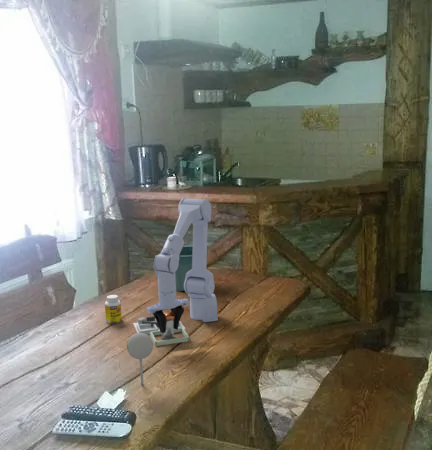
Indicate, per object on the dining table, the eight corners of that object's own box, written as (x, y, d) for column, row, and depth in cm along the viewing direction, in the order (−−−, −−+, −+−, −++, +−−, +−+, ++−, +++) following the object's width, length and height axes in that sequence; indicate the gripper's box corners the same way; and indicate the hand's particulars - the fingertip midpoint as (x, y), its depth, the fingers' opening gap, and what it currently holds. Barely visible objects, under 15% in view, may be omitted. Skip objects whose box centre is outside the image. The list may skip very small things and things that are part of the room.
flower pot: (206, 293, 246) (205, 255, 243) (166, 294, 247) (164, 256, 243) (207, 281, 262) (206, 245, 259) (169, 282, 263) (168, 246, 259)
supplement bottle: (110, 327, 212) (108, 300, 210) (103, 323, 216) (101, 296, 214) (124, 324, 215) (122, 296, 213) (118, 319, 219) (116, 292, 217)
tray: (182, 334, 204) (182, 327, 204) (189, 344, 195) (189, 337, 195) (150, 338, 201) (149, 331, 200) (155, 349, 192) (155, 342, 192)
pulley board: (177, 320, 217) (177, 309, 216) (185, 332, 206) (185, 321, 205) (133, 326, 212) (132, 315, 212) (139, 338, 201) (138, 327, 200)
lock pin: (169, 333, 202) (170, 310, 199) (177, 338, 198) (178, 315, 196) (157, 336, 199) (158, 313, 197) (165, 341, 195) (166, 318, 193)
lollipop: (130, 379, 172) (127, 329, 169) (155, 377, 173) (152, 328, 170) (128, 391, 165) (125, 339, 162) (154, 389, 166) (152, 337, 163)
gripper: (180, 283, 202) (181, 321, 205) (141, 291, 194) (143, 331, 197) (191, 288, 196) (192, 327, 199) (151, 297, 188) (153, 338, 191)
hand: (169, 330), depth 197 cm, fingers closed on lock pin, 4 cm apart
